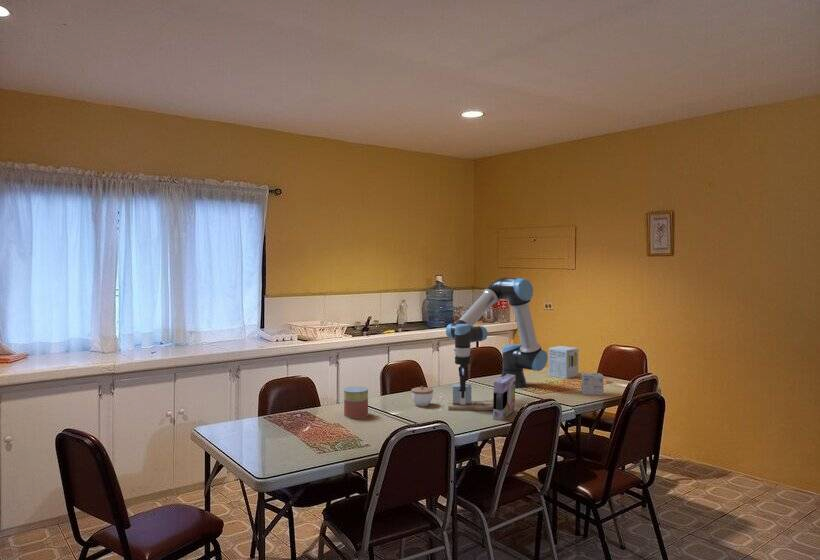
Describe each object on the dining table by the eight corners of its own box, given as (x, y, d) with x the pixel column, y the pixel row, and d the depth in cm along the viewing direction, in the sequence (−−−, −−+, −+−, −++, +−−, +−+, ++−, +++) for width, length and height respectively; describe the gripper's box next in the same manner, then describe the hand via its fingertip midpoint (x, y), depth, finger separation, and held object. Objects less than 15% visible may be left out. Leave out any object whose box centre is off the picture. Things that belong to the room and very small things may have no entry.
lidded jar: (426, 408, 281) (426, 389, 280) (407, 405, 286) (407, 387, 286) (436, 403, 290) (436, 385, 289) (418, 401, 295) (418, 383, 295)
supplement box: (566, 379, 348) (566, 350, 347) (548, 375, 358) (548, 347, 357) (578, 376, 357) (579, 347, 356) (560, 372, 367) (560, 345, 366)
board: (448, 403, 291) (448, 400, 291) (500, 404, 289) (500, 401, 289) (448, 410, 278) (448, 407, 278) (502, 411, 276) (502, 407, 276)
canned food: (373, 415, 270) (373, 389, 269) (353, 419, 262) (353, 393, 262) (358, 410, 278) (357, 385, 277) (339, 414, 270) (338, 389, 270)
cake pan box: (501, 421, 259) (501, 382, 258) (491, 419, 261) (491, 381, 260) (515, 411, 275) (516, 374, 275) (505, 410, 278) (506, 373, 277)
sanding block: (452, 402, 287) (452, 384, 286) (471, 402, 286) (471, 384, 285) (452, 404, 282) (452, 386, 281) (471, 405, 281) (471, 386, 280)
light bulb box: (601, 392, 313) (601, 372, 312) (604, 395, 306) (604, 375, 306) (580, 392, 314) (580, 372, 313) (583, 395, 307) (583, 375, 307)
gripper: (454, 352, 292) (454, 398, 293) (455, 358, 274) (455, 407, 275) (469, 352, 291) (469, 398, 292) (471, 359, 273) (471, 407, 274)
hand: (462, 402), depth 284 cm, fingers closed on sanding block, 5 cm apart
